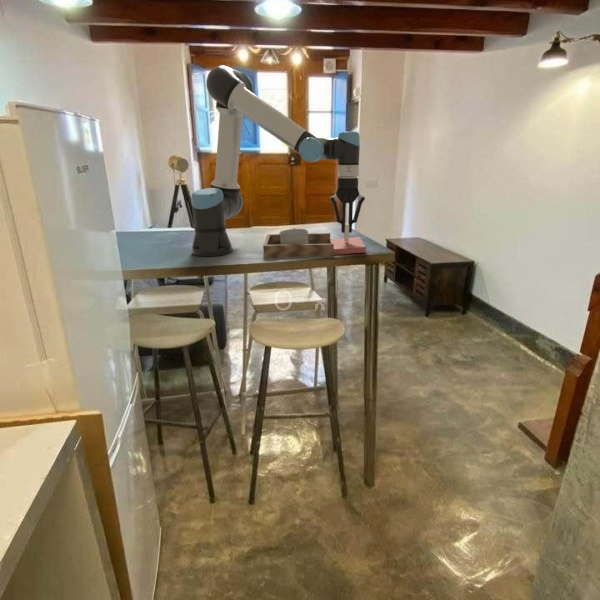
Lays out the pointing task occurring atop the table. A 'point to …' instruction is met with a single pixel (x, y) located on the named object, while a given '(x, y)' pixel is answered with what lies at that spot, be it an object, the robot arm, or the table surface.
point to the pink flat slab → (348, 245)
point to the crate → (299, 246)
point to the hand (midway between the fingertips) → (346, 241)
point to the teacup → (294, 236)
